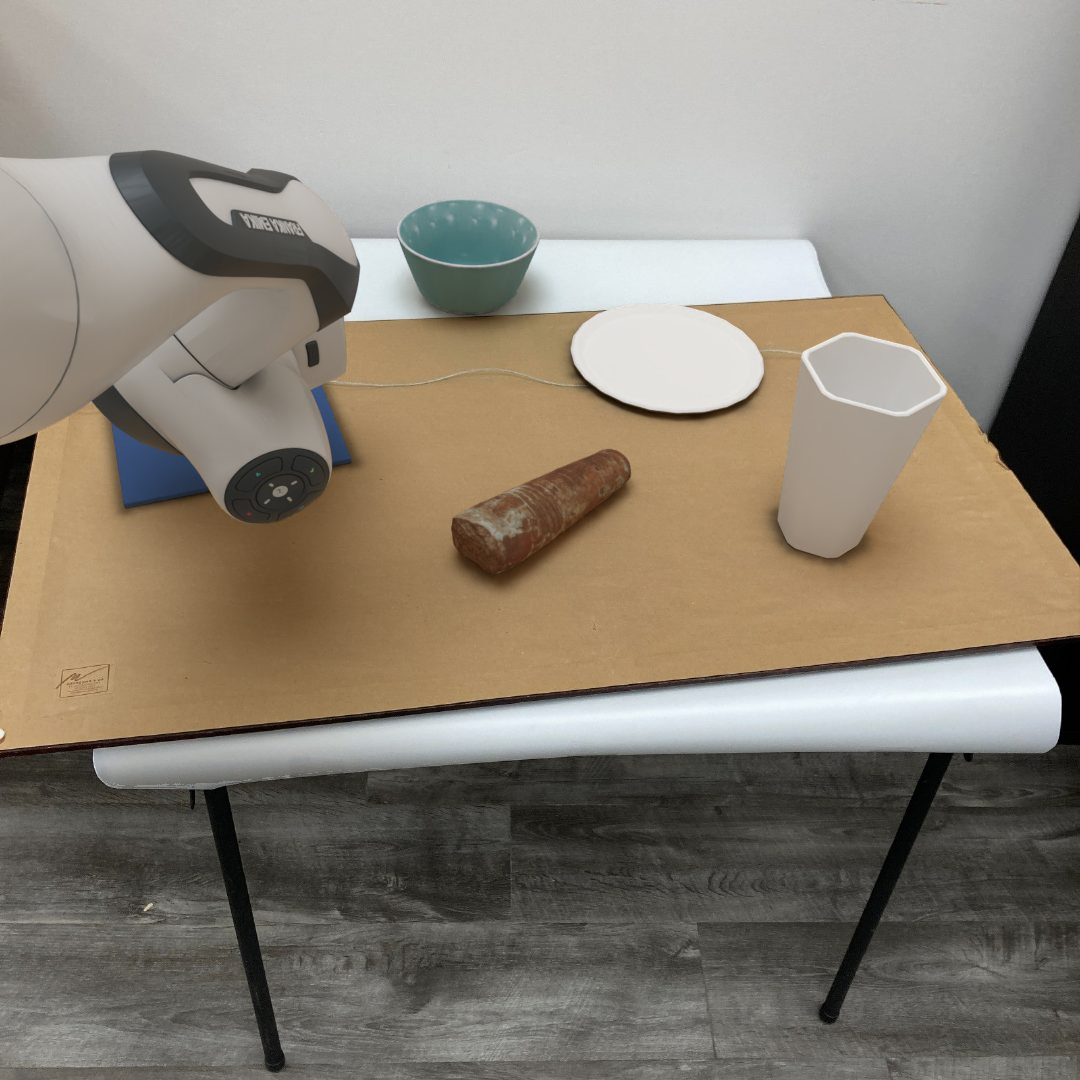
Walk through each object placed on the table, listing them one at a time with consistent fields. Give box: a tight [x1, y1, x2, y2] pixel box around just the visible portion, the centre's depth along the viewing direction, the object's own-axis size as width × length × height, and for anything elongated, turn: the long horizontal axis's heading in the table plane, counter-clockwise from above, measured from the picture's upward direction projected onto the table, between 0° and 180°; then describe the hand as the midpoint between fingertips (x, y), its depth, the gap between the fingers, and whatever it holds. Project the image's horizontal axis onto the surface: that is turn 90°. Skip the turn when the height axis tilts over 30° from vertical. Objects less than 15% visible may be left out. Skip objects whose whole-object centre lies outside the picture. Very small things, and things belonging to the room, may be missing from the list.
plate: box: [570, 302, 765, 416], centre depth 105 cm, size 21×21×1 cm
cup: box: [776, 331, 948, 559], centre depth 82 cm, size 11×10×17 cm
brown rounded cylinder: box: [450, 448, 632, 575], centre depth 84 cm, size 6×19×6 cm, turn 133°
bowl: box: [396, 198, 541, 317], centre depth 110 cm, size 16×16×8 cm
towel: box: [111, 384, 352, 509], centre depth 94 cm, size 20×20×1 cm
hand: (199, 272), depth 82 cm, fingers closed on pill bottle, 5 cm apart
